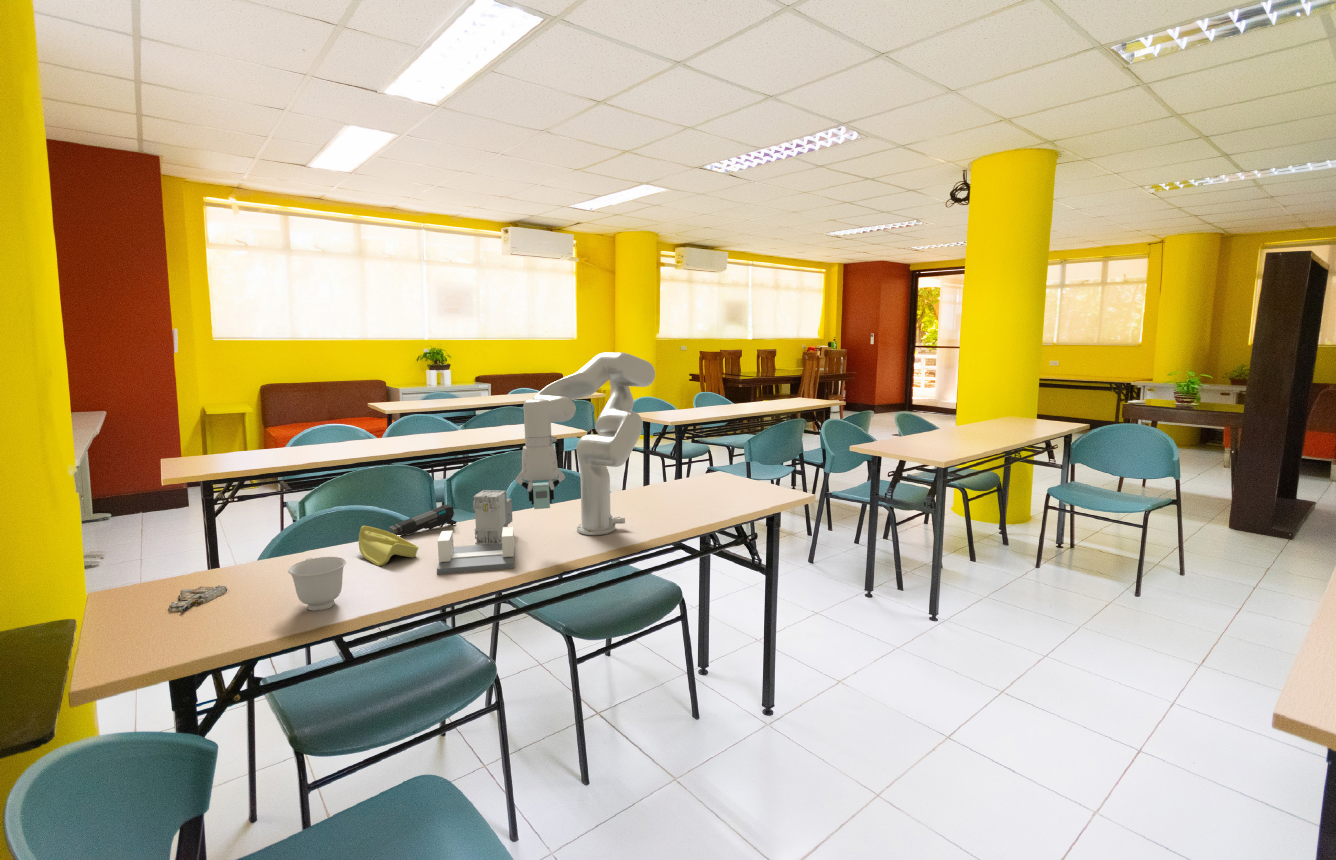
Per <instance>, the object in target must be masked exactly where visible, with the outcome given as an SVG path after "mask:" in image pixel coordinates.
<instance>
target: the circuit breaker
mask: <svg viewBox="0 0 1336 860" xmlns="http://www.w3.org/2000/svg"><path fill="white" fill-rule="evenodd" d="M472 497H473V498H474V500H473V502H472V503H473V505H472V506H473V511H474V516H475V517H474V518H475V521H474V522H475V528H474V539H475V540H476V541H475V543H474V545H484V544H498V543H502V530H503V527H509V525H510V524H511V523H512V522H513V503H512V502H513V500H512V498H508V497H507V490H501V489H500V490H499V489H498V490H495V489H492V490H491V489H483V490H481V491H480V492H478V493H476V494H475V495H473V496H472Z"/></svg>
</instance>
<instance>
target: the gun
mask: <svg viewBox="0 0 1336 860" xmlns="http://www.w3.org/2000/svg"><path fill="white" fill-rule="evenodd" d="M454 515H455V512H454V507H453V506H451V505H449V504H443V505H440V506H438V507H436V508H433V509H431V510H429V511H427V512H424V513H422V514H418V515H417V516H414V517H412V518H411V517H410V518H407V519H405V520H402V521H399V522H396V523H395V524H393V525H390V526H389V527H388V528H389V532H390V533H392V534H395V535H402V536H404V535H406V534H410V535H412V534H414V533H416V532H418V531H420V530H422V529H425V530H427V529H428V530H433V529H435V528H437V527H440V528H443V526H444V525H445V524H449V525H450V526H453V524H456V525H457V522H458V521H456V520H454V519H453V517H455V516H454ZM403 534H404V535H403Z"/></svg>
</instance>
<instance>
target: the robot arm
mask: <svg viewBox="0 0 1336 860" xmlns="http://www.w3.org/2000/svg"><path fill="white" fill-rule="evenodd" d="M655 378H656V370H655V368H654V366H653V364H651V362H649V361H647V360H645V359H642V358H640V357H638V356H635V355H634V354H633V355H632V354H630V353H627V352H619V351H617V352H615V351H614V352H608V351H605V352H601V353H598V354H596V355H594V357H592V359H591V360H589V361H588V362H587V363H586V364H584V365H583V366H582V367H581V368H580V369H579V370H578V371H576V372H574V373H573V374H570V375H567V376H564V377H562V378H560V379H558V380H556V381H554V382H551V383H550V384H548V385H546V386H544V388H542V389H541V390H540V391H539V392H538V393H536V394H535V395H534V397H533V398H531V399H527V400H525V401H524V402H523V421H524V422H523V425H524V439H525V440H524V441H525V443H524V444H525V445H524V446H522V453H521V470H520V472H519V473H518V475H517V476H516V478H515V483H516V484H519V485H520V486H522V487H523V488H524V489H526V490H527V492H528V502H531V505H533V506H534V496H533V483H534V482H540V481H542V482H543V481H547V482H548V484H549V496H550V504H553V501H554V500H555V495H554V494H555V492H554V490H555V488H556V487H557V486H558V485H559V484H561V482H563V480H565V479H566V476H565V474H564V473H563V472H562V471H561V469H560V468H559V467H558V459H557V457H558V456H557V452H556V447H555V444H553V443H554V442H557V441H558V439H557V436H553V435H552V423H564V422H568V421H569V420H571V419H572V418H573V417H574V416H575V414H576V410H577V409H576V408H577V407H576V404H575V401H574V400H577V399H582V398H583V399H584V398H586V397H590V396H592V395H593V394H595V393H596V392H597V391H598V390H599V389H600V388H602V387H603V385H604V384H606V383H607V382H608V381H609V386H610V396H609V398H608V400H607V402H606V404H605V406H604V407H603V409H602V411H601V412H600V414H599V415H598V417H597V419H596V421H595V426H594V427H595V431H596V433H597V434H593V433H592V434H585V435H583V436H582V437H581V438H580V439H578V442H577V444H576V455H577V460H578V464H579V465H578V466H579V474H580V475H579V476H580V507H581V510H580V514H581V519H580V520H581V523H580V524H578V525H577V526H576V531H577V532H578V533H579V534H582V535H585V536H603V535H607V534H611V533H613V532H614V531H615V530H616V525H617V524H619V525H621V524H622V525H623V524H626V517H621V516H612V513H611V477H610V472H609V469H608V467H612V468H619V467H621V466H623V465H624V464H625V463H626V462H627V460H628V459H629V458H630V455H631V453H632V451H633V450H634V448H635V446H636V444H637V442H638V440H639V439H640V437H641V435H642V431H643V420H642V416H641V415H640V414H639V413H638V412H636V411H633V408H634V403H635V401H634V397H633V395H632V392H631V389H630V387H635V388H637V387H638V388H640V387H641V388H643V387H644V388H645V387H646V388H647V387H649V386H650V385H651V384H653V383H654V381H655Z"/></svg>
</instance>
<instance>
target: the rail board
mask: <svg viewBox="0 0 1336 860" xmlns="http://www.w3.org/2000/svg"><path fill="white" fill-rule="evenodd" d="M453 532H454V531H453V530H442V531H441V532H440V535H439V536H438V539H437V550H438V551H437V552H438V553H437V555H438V565H437V567H436V575H444V574H446V575H447V574H458V573H469V572H471V573H472V572H481V571H483V572H484V571H495V570H494V569H497V570H507V569H514V568H515V567H514V566H515V548H516V547H515V538H514V537H515V536H514V535H515V534H514V526H508V527H503V530H502V542H501V543H498V544H474V545H472V544H471V545H459V546H454V533H453Z"/></svg>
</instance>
